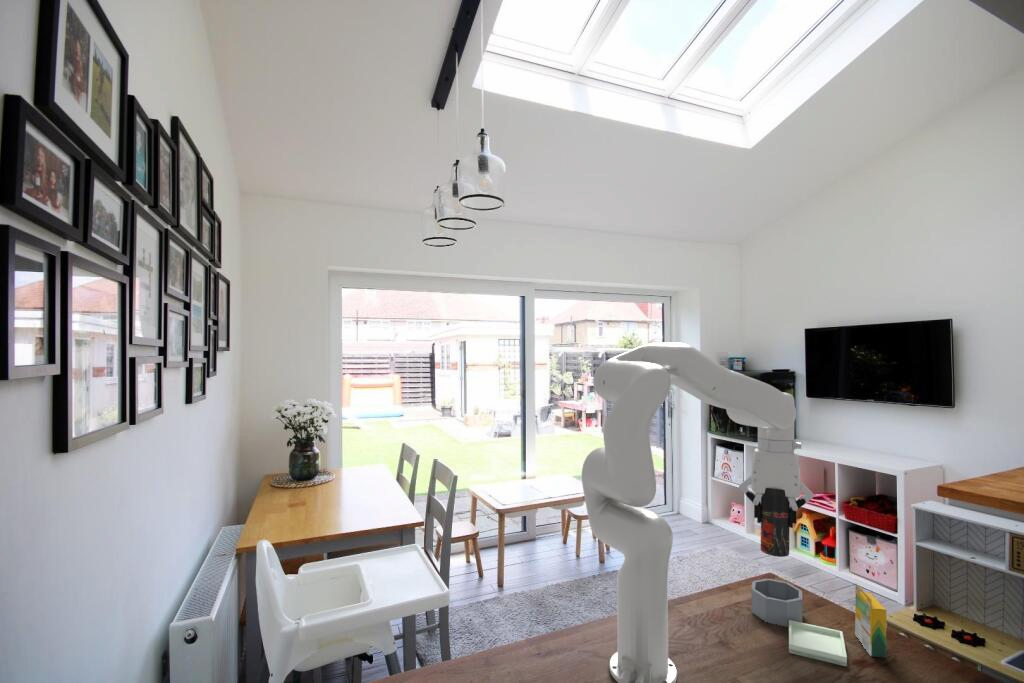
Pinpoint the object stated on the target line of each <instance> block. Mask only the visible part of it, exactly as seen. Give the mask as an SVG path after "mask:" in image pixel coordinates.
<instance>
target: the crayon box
mask: <svg viewBox="0 0 1024 683" xmlns="http://www.w3.org/2000/svg"><path fill="white" fill-rule="evenodd" d="M854 608H855V609H854V610H855V614H854V615H855V619H854V622H855V623H854V624H855V625H854V627H855V628H854V636H855V635H856V637H857V638H858V639H859V640H858V639H857V638H856V637H855V638H856V639H857V640H858V642H859V641H860V642H861V643H862V644H861V643H860V642H859V643H860V644H861V646H862V645H863V646H862V647H863V648H864V650H865V649H866V650H865V651H866V652H867V653H868V655H869V656H870V657H873V658H875V657H876V658H887V609H886V608H885V607H884V606H883V605H882V604H881V603H880V602H879V601H878V600H877V598H875V597H874V596H873V594H871V593H870V592H865V591H864V589H862V587H860V585H858V584H857V583H855V607H854Z"/></svg>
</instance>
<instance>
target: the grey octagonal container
mask: <svg viewBox="0 0 1024 683" xmlns="http://www.w3.org/2000/svg"><path fill="white" fill-rule="evenodd" d="M803 607H804V606H803V590H802V589H800V588H798V587H796V586H794V585H793V584H791V583H790V582H788V581H783V580H777V579H771V578H763V579H757V580H753V581H752V583H751V613H752V614H753V615H755V616H756V617H758V618H759V619H760V620H762V621H763V620H764V622H765V623H767V622H768V624H773V625H776V624H777V626H781V627H785V628H789V620H792V621H796V622H801V623H804V622H803V621H804V620H803V612H804V611H803V610H804V609H803Z"/></svg>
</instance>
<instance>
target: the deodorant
mask: <svg viewBox="0 0 1024 683" xmlns="http://www.w3.org/2000/svg"><path fill="white" fill-rule="evenodd" d="M760 503H761V523H760V551H761V552H762V553H764V554H766V555H768V556H773V557H777V558H778V557H780V558H781V557H782V558H783V557H788V556H789V555H790V529H791V528H790V527H789V510H790V506H791V505H790V502H789V500H788V497H786V495H785V490H778V489H770V488H766V489H765V494H762V497H761V499H760Z"/></svg>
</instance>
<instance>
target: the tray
mask: <svg viewBox="0 0 1024 683" xmlns="http://www.w3.org/2000/svg"><path fill="white" fill-rule="evenodd" d="M788 652H789V654H794V655H797V656H800V657H801V656H802V657H807V658H810V659H813V660H816V661H817V660H818V661H822V662H826V663H830V664H834V665H839V666H842V667H848V655H847V651H846V644H845V639H844V633H843V631H842V630H837V629H832V628H829V627H824V626H819V625H814V624H809V623H805V622H803V623H801V622H796V621H792V620H789V627H788Z"/></svg>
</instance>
